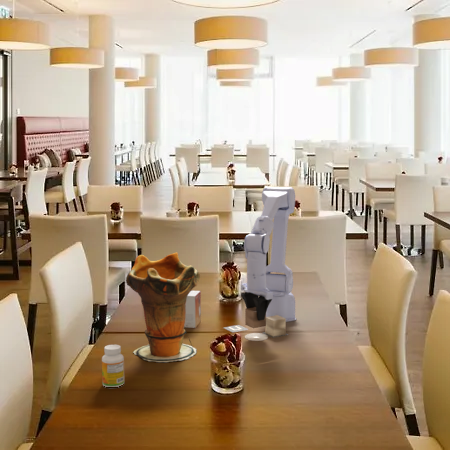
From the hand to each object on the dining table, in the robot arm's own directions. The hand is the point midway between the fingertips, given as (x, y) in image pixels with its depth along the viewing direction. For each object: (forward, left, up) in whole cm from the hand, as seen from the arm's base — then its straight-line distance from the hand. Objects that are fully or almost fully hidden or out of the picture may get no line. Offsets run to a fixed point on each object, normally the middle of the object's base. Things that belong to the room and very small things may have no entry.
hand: (256, 317), depth 210 cm
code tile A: (0, -11, -6) cm, 13 cm away
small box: (+10, -23, -6) cm, 26 cm away
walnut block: (0, 0, -2) cm, 2 cm away
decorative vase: (+29, -2, -6) cm, 30 cm away
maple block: (-7, 0, -6) cm, 9 cm away
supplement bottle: (+51, +14, -6) cm, 54 cm away
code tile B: (-7, 0, -6) cm, 9 cm away
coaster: (0, 0, -6) cm, 6 cm away
